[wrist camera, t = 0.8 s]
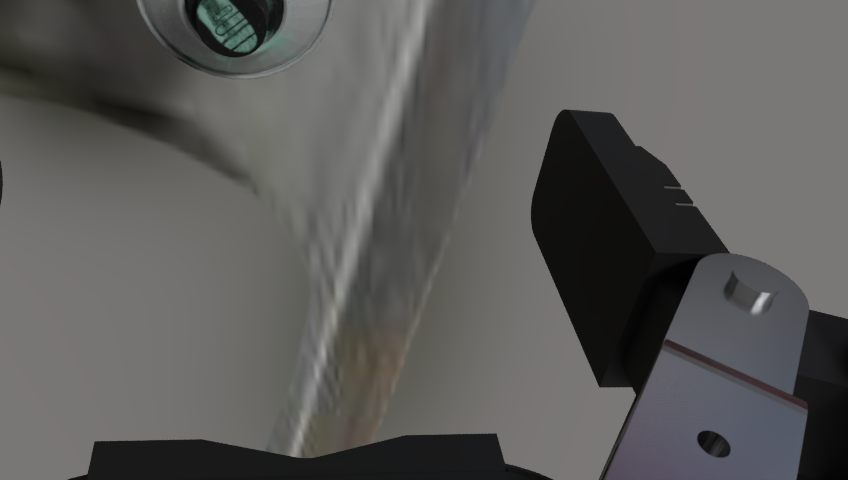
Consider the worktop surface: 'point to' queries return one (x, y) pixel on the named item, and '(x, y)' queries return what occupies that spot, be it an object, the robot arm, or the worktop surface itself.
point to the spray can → (238, 33)
